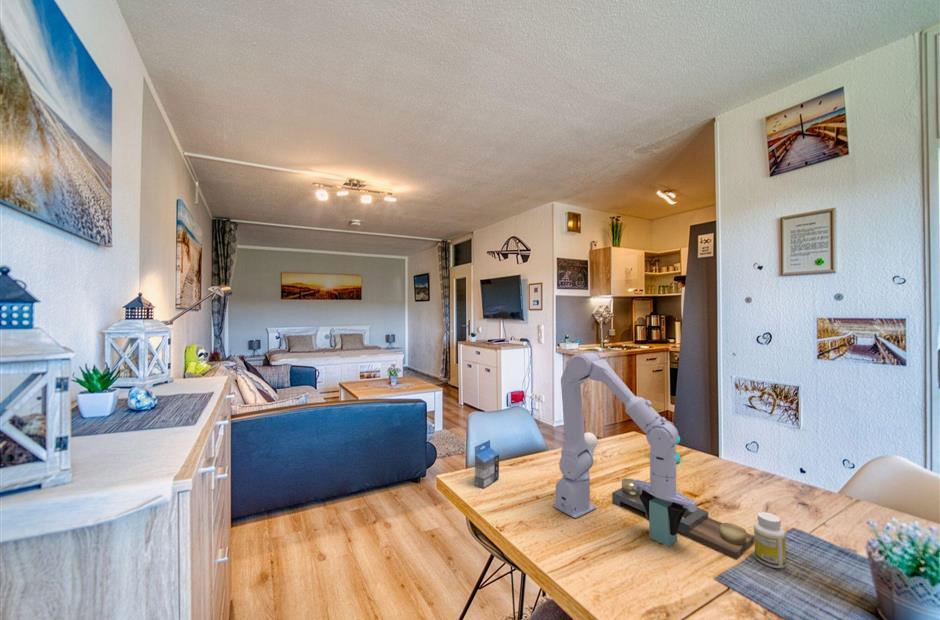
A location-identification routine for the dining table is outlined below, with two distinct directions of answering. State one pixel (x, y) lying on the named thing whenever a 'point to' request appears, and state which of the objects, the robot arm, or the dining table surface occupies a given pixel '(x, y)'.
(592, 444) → the lightbulb
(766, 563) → the supplement bottle
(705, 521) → the walnut link
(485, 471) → the label tape cartridge
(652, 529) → the block
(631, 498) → the metal link
